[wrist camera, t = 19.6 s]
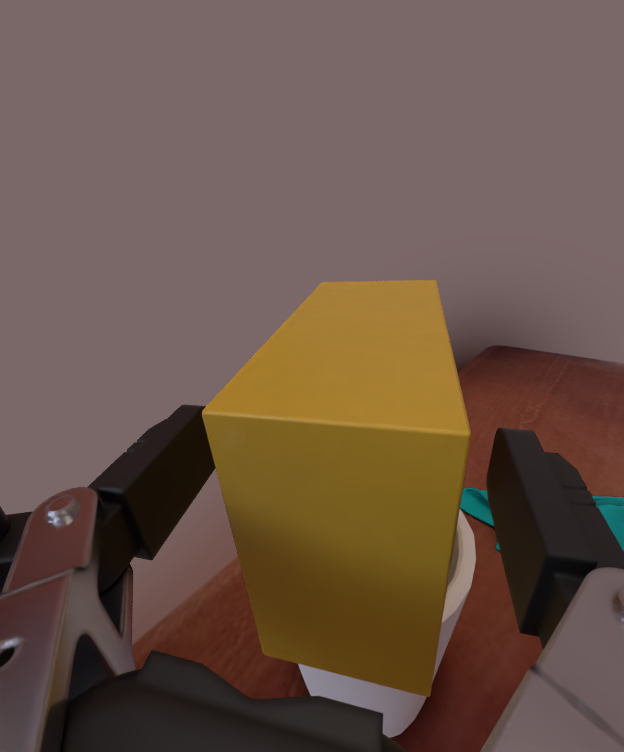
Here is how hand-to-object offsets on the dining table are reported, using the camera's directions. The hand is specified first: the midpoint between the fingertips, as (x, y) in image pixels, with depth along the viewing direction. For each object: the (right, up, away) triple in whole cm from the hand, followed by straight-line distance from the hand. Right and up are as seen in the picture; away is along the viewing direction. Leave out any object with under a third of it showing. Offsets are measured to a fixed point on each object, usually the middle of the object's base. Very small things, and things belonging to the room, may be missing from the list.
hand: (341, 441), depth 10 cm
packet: (+2, -5, +7) cm, 9 cm away
